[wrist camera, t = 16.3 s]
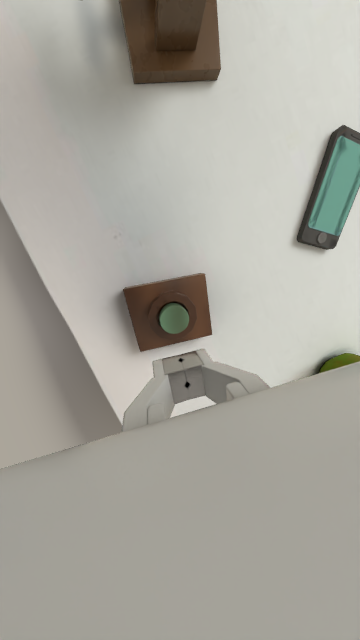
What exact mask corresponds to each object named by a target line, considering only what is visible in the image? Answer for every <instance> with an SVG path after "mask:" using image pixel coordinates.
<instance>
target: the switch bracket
mask: <svg viewBox="0 0 360 640" xmlns="http://www.w3.org/2000/svg"><path fill="white" fill-rule="evenodd" d="M119 3H120V8H121V14H122V19H123V25H124V30H125V36H126V41H127V47H128V52H129V57H130V63H131V68H132V74H133V79H134V83H135V84H137V83H158V82H180V81H202V80H217V78H218V75H219V73H220V70H221V64H220V48H219V32H218V17H217V1H216V0H119Z"/></svg>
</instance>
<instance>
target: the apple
mask: <svg viewBox="0 0 360 640" xmlns="http://www.w3.org/2000/svg"><path fill="white" fill-rule="evenodd" d="M359 361H360V356H358V355H355V354H350V353H344V354H342V355H339V356H337V357H334V358H332V359H330V360H328V361H327V362H325V364H324V365H323V366H322V367H321V369H320V372H319V373H322V372H326V371H329V370H332V369H336V368H339V367H342V366H346V365H349V364H353V363H356V362H359Z"/></svg>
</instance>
